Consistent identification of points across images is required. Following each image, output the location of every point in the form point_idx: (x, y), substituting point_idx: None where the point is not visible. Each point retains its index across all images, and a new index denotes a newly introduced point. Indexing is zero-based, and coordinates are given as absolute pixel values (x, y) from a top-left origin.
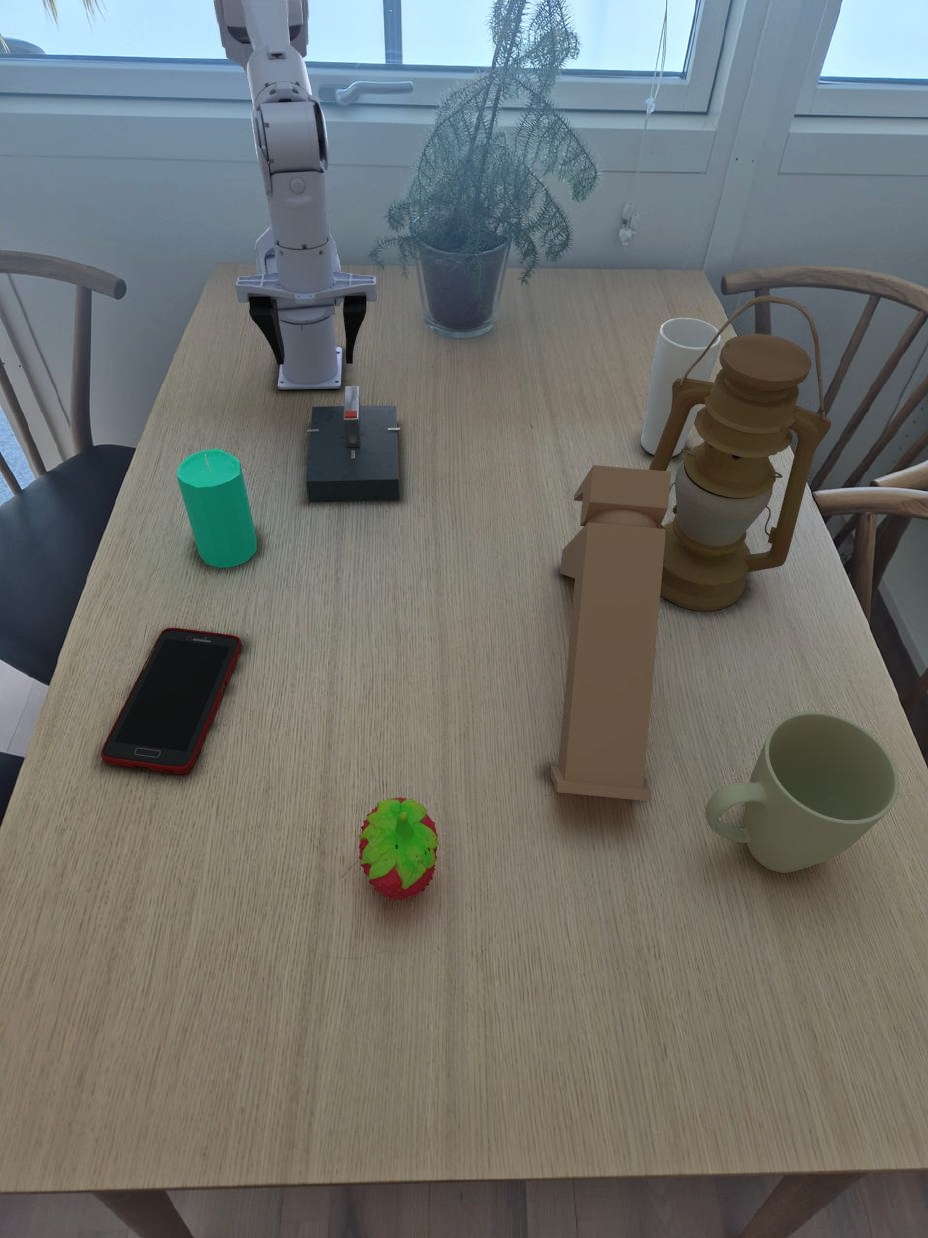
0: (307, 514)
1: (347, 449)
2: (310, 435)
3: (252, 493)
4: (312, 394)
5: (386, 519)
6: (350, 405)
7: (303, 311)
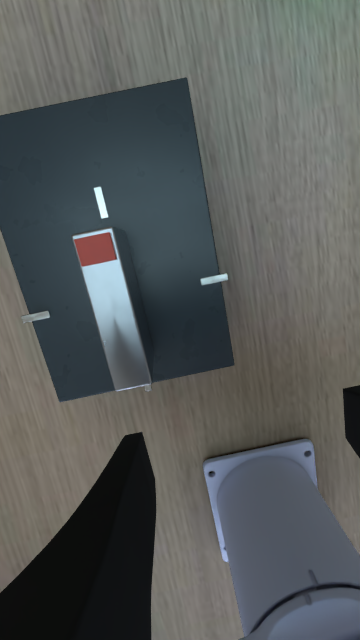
0: (176, 63)
1: (120, 223)
2: (216, 262)
3: (300, 120)
4: (247, 437)
5: (6, 71)
6: (112, 298)
7: (325, 634)
